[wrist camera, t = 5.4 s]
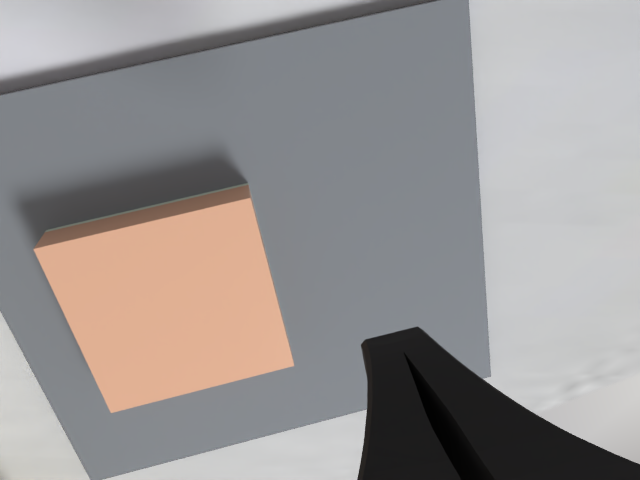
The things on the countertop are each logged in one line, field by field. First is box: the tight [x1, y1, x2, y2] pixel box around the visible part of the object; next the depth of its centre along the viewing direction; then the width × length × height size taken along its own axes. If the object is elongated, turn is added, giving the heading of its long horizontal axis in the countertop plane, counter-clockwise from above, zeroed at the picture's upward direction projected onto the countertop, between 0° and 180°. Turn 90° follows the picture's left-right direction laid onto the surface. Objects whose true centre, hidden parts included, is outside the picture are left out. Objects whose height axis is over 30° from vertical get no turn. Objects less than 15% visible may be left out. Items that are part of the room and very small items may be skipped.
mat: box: [0, 0, 491, 480], centre depth 21 cm, size 18×16×1 cm
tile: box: [33, 183, 294, 413], centre depth 20 cm, size 2×7×7 cm
